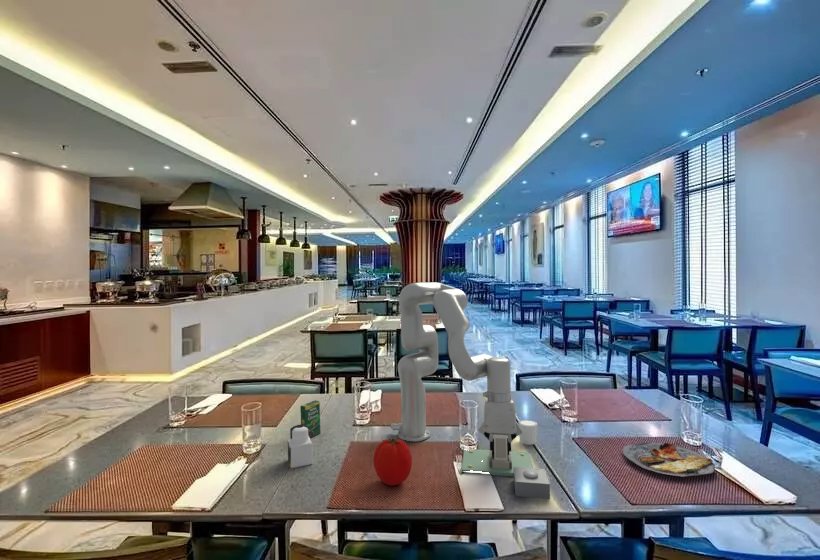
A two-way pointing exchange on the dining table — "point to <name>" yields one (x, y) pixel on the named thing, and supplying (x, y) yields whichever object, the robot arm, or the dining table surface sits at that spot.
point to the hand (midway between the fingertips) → (500, 452)
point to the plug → (500, 447)
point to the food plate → (669, 459)
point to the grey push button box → (531, 482)
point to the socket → (500, 462)
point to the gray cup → (528, 431)
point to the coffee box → (311, 417)
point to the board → (476, 456)
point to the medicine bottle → (299, 447)
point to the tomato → (392, 461)
